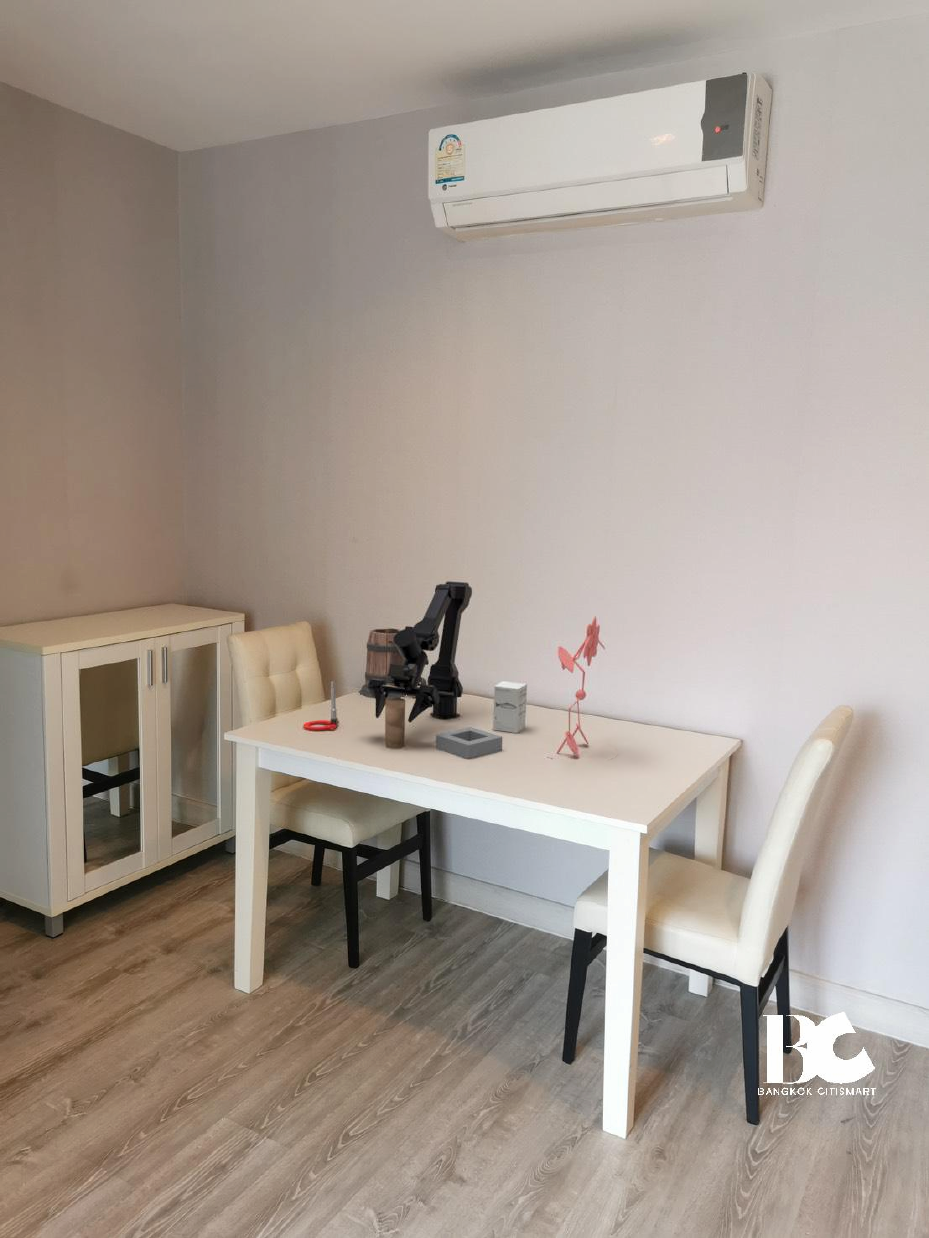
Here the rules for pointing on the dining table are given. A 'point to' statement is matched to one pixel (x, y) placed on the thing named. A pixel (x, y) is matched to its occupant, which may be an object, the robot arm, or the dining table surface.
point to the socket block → (468, 742)
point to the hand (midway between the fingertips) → (392, 719)
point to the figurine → (568, 663)
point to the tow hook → (329, 724)
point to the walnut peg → (395, 723)
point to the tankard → (382, 659)
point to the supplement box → (509, 706)
